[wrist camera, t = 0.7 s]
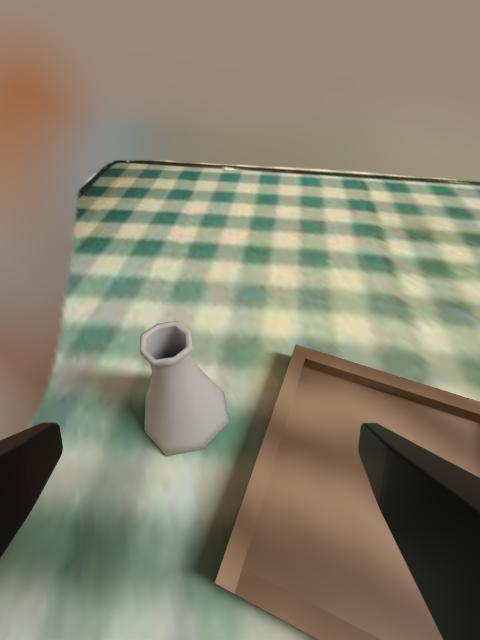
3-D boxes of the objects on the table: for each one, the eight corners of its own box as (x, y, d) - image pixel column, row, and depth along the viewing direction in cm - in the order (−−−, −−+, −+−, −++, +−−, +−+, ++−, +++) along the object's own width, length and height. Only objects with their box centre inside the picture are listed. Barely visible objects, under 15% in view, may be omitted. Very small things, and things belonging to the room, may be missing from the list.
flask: (133, 396, 26) (91, 322, 19) (206, 363, 29) (196, 286, 21) (159, 474, 22) (120, 419, 14) (243, 428, 24) (247, 360, 17)
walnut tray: (567, 774, 14) (608, 798, 12) (216, 582, 18) (214, 583, 16) (499, 423, 25) (516, 413, 23) (292, 356, 29) (295, 344, 28)
